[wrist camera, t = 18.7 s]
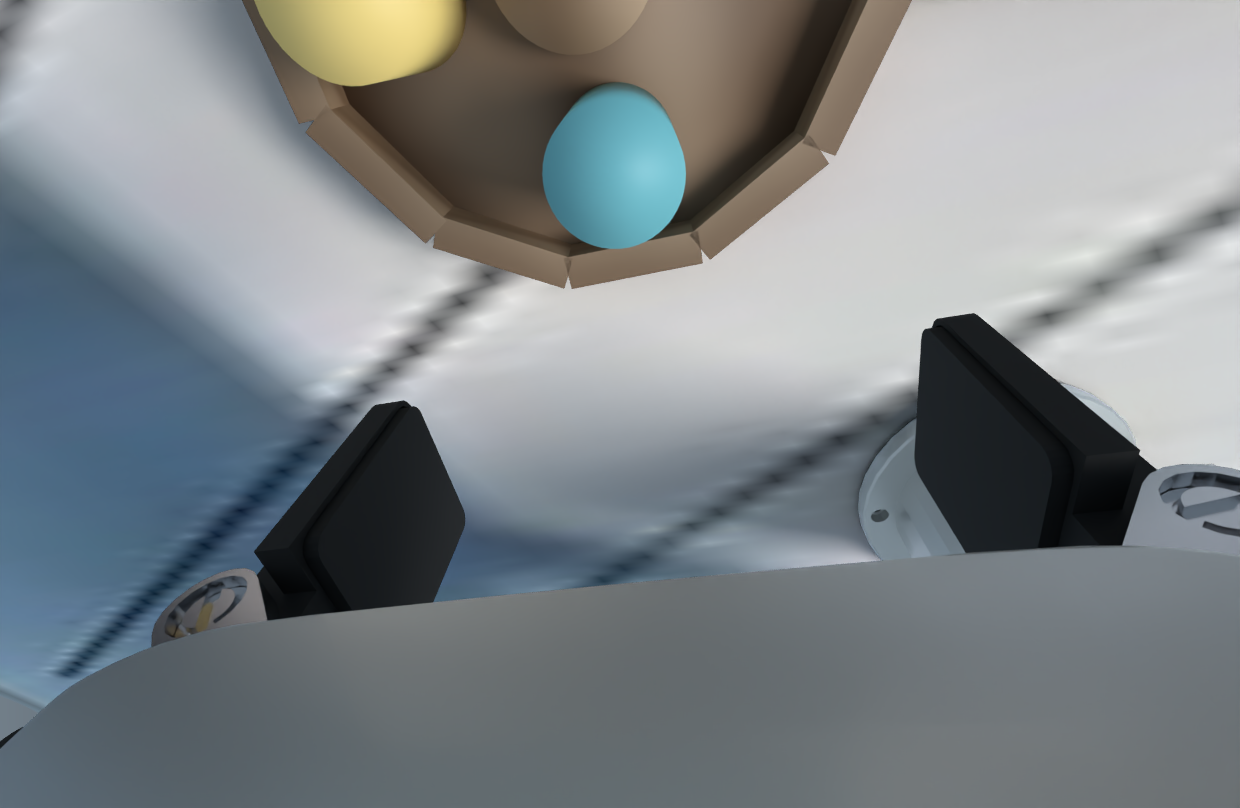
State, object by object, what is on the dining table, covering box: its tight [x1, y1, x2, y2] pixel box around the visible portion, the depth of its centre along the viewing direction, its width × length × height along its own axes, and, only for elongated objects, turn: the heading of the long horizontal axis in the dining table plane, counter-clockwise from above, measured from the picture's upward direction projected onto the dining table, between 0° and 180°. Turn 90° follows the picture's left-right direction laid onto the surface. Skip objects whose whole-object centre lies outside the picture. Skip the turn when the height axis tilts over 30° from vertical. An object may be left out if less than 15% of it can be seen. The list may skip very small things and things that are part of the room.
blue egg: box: [542, 82, 686, 249], centre depth 18 cm, size 4×4×5 cm
